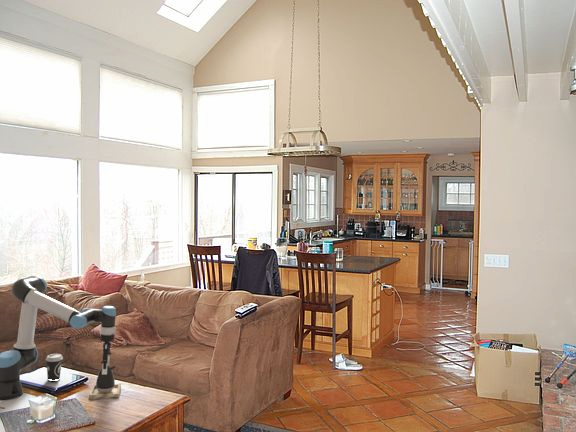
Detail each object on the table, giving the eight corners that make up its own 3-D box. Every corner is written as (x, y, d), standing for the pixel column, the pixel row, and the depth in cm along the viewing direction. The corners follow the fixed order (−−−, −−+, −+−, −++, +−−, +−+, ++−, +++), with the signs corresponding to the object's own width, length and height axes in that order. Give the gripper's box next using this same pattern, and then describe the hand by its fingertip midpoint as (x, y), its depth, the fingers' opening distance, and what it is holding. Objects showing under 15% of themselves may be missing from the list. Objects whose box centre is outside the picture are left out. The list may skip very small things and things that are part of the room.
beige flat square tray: (88, 399, 287) (88, 395, 287) (92, 388, 303) (92, 384, 302) (118, 398, 291) (119, 393, 291) (120, 387, 307) (121, 383, 306)
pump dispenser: (117, 393, 296) (118, 367, 295) (98, 396, 290) (99, 369, 289) (111, 387, 304) (113, 361, 303) (93, 390, 298) (94, 364, 298)
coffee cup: (56, 376, 320) (57, 352, 319) (65, 380, 314) (66, 355, 314) (41, 380, 312) (42, 355, 312) (50, 384, 306) (51, 359, 306)
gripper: (112, 339, 284) (110, 377, 285) (116, 327, 309) (114, 362, 309) (98, 339, 283) (96, 377, 283) (103, 327, 307) (101, 363, 307)
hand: (105, 370), depth 296 cm, fingers open, 13 cm apart
